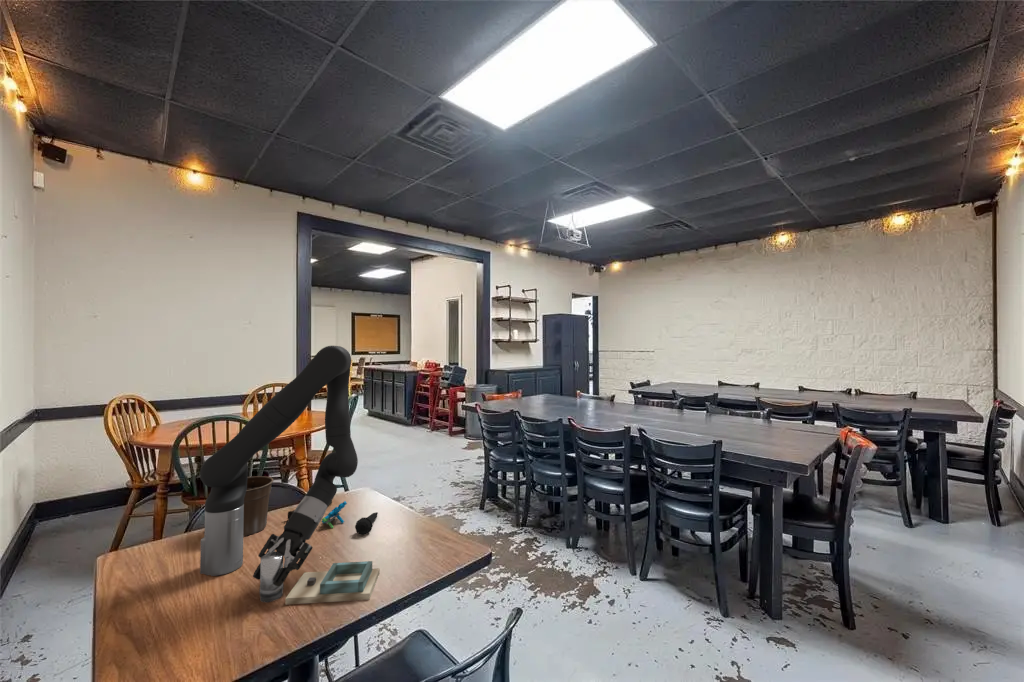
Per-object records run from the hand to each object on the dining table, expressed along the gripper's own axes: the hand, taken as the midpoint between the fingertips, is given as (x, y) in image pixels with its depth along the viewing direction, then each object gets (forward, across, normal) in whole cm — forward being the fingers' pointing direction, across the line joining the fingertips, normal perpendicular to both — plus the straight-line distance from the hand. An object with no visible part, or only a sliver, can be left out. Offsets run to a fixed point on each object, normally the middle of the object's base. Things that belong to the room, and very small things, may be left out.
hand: (265, 581), depth 104 cm
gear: (-26, -21, +32) cm, 46 cm away
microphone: (-28, -7, +35) cm, 46 cm away
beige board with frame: (-5, +12, +11) cm, 17 cm away
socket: (+2, 0, +4) cm, 5 cm away
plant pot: (-14, -44, +21) cm, 51 cm away
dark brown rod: (-28, -37, +35) cm, 59 cm away
